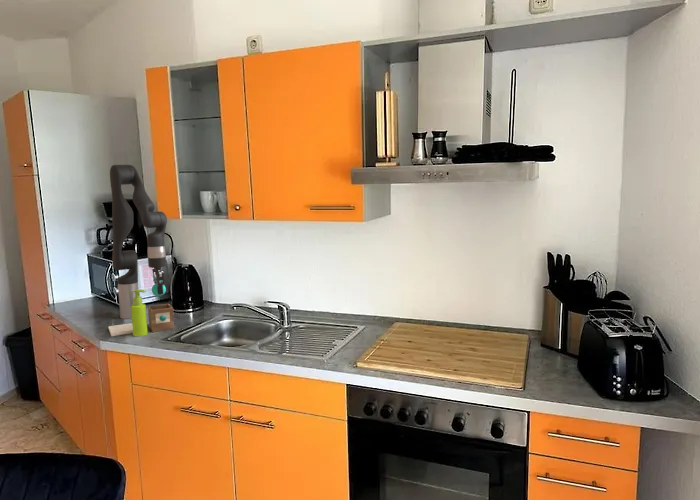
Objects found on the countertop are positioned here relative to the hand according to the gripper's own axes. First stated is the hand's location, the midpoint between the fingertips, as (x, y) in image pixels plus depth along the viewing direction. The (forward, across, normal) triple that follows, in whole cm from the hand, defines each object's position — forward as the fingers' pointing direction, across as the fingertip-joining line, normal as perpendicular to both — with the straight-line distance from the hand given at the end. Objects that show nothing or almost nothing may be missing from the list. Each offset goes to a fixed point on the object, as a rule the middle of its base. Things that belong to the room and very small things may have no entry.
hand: (159, 292), depth 226 cm
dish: (+17, +6, +14) cm, 23 cm away
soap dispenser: (+17, -5, +9) cm, 20 cm away
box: (+17, 0, 0) cm, 17 cm away
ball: (-2, 0, 0) cm, 2 cm away
